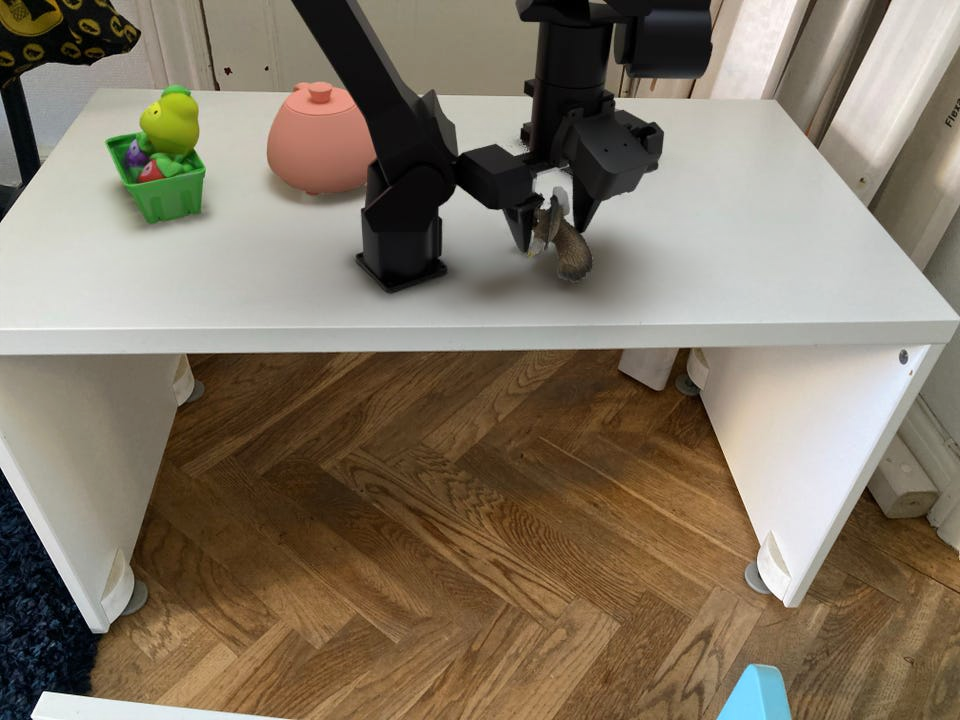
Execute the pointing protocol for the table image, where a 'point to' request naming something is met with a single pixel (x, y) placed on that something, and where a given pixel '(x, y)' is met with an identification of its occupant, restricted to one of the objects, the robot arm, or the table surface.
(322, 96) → the sugar bowl
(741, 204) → the table surface
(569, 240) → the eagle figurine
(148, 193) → the fruit basket
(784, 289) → the table surface
